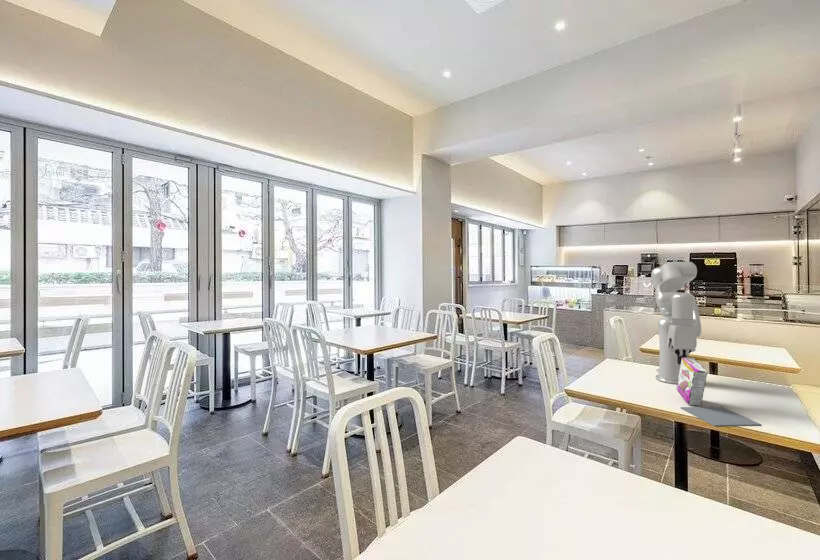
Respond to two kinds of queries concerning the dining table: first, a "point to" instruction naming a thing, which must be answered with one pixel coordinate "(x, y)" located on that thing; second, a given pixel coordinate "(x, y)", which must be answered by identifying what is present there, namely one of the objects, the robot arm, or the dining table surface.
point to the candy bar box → (691, 381)
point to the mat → (720, 416)
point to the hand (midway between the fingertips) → (682, 364)
